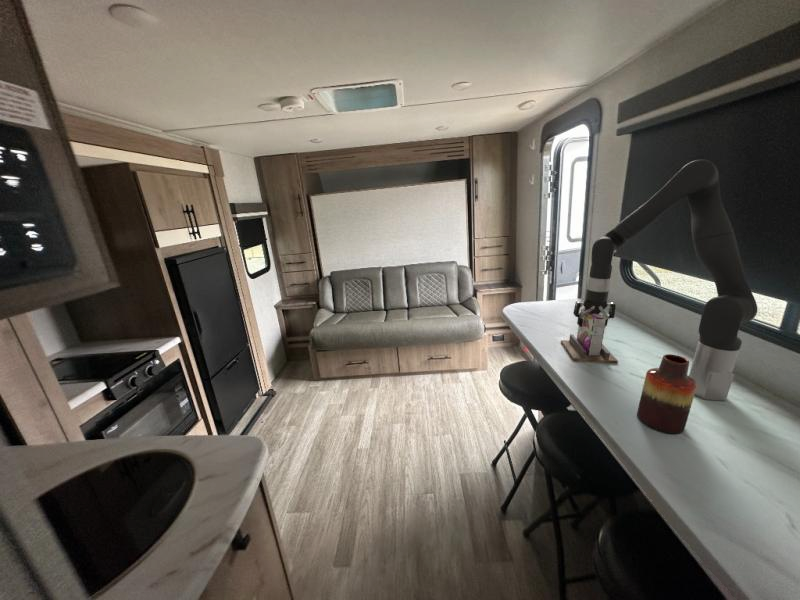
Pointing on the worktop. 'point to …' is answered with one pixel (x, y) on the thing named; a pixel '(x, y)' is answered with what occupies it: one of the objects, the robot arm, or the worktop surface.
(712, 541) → the worktop surface
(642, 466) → the worktop surface
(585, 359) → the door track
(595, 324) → the candy bar box
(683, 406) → the vase
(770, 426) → the worktop surface
